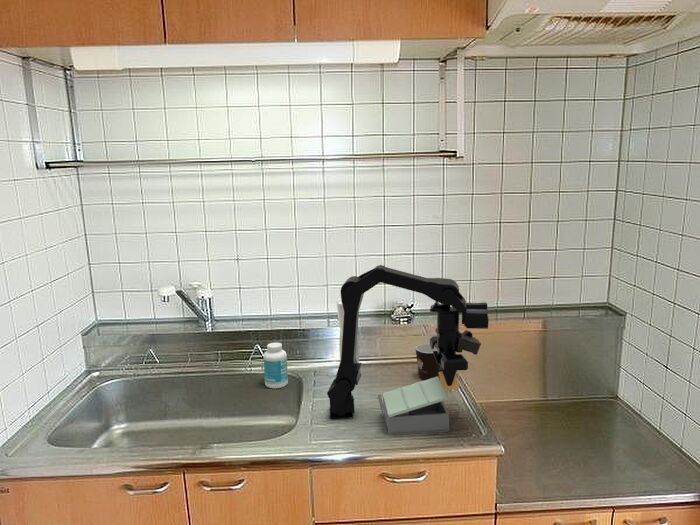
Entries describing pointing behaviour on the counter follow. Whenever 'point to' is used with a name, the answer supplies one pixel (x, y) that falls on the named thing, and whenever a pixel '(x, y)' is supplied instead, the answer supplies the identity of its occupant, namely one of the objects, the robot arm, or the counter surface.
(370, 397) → the counter surface
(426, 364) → the coffee mug
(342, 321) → the skyscraper
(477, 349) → the robot arm
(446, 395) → the lid
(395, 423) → the parts tub
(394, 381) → the counter surface
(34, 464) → the counter surface
